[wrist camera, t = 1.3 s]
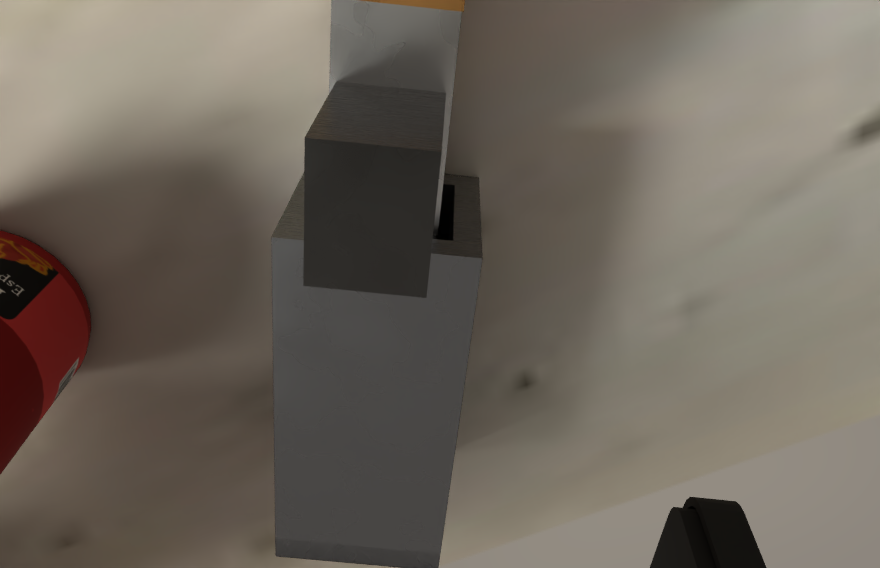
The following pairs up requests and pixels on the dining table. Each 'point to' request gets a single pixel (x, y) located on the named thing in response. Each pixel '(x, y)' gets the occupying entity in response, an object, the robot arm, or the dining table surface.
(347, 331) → the sleeve
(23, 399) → the canned food
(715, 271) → the dining table surface
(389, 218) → the steel bar
